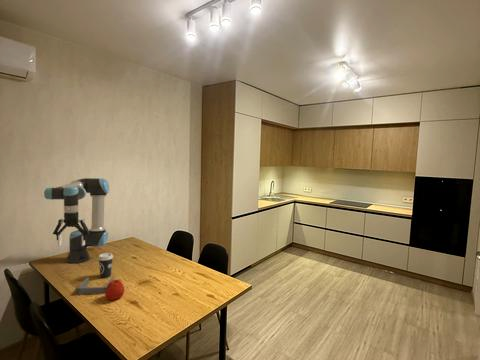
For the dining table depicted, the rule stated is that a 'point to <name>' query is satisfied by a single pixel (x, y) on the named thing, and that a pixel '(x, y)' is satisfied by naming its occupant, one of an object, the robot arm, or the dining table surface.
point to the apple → (114, 290)
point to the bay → (91, 288)
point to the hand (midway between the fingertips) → (71, 245)
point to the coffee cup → (105, 264)
